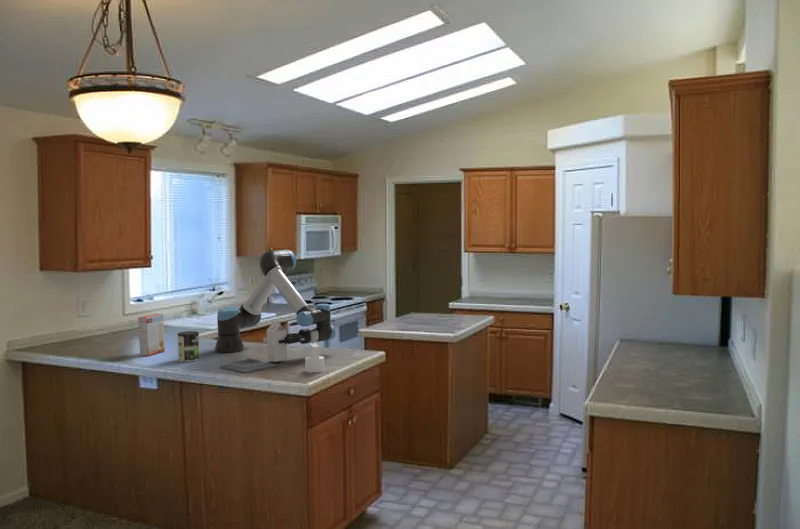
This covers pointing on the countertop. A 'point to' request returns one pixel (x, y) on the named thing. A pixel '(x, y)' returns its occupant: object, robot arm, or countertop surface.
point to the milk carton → (278, 350)
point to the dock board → (248, 368)
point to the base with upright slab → (314, 360)
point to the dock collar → (255, 361)
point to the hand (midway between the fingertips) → (267, 341)
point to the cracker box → (151, 334)
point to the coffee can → (188, 346)
